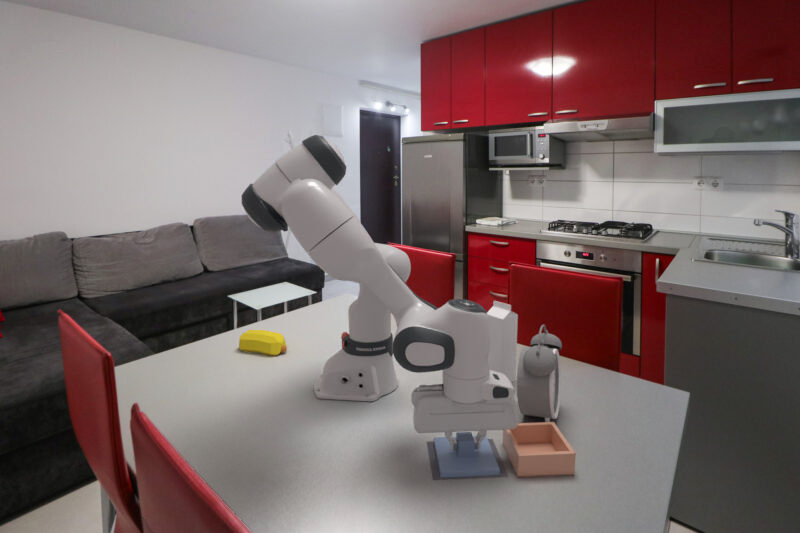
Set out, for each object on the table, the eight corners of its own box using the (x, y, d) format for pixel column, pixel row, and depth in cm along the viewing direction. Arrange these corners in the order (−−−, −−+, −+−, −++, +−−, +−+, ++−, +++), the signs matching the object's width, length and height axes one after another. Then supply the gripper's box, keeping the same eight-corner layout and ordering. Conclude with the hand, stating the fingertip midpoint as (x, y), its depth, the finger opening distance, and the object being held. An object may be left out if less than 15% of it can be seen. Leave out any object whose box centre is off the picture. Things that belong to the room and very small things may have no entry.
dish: (517, 479, 83) (518, 455, 82) (502, 445, 93) (503, 424, 92) (574, 477, 83) (575, 453, 82) (552, 443, 94) (553, 421, 93)
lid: (440, 477, 83) (440, 455, 82) (433, 442, 94) (433, 422, 93) (499, 475, 83) (500, 452, 82) (485, 440, 94) (486, 420, 93)
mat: (433, 482, 82) (433, 479, 82) (426, 444, 94) (426, 441, 94) (508, 479, 83) (508, 476, 83) (492, 441, 95) (492, 438, 95)
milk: (501, 387, 118) (503, 307, 114) (483, 379, 123) (485, 302, 118) (515, 380, 122) (518, 303, 117) (498, 372, 127) (500, 298, 122)
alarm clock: (553, 439, 95) (558, 342, 90) (512, 430, 99) (515, 336, 94) (561, 403, 109) (566, 318, 105) (525, 396, 113) (529, 313, 109)
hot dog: (248, 344, 153) (232, 352, 146) (246, 325, 151) (230, 333, 144) (293, 350, 147) (279, 359, 139) (291, 330, 145) (277, 339, 138)
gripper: (412, 393, 82) (413, 460, 85) (523, 389, 83) (520, 456, 85) (410, 378, 88) (411, 441, 91) (513, 374, 89) (510, 436, 92)
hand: (464, 448), depth 88 cm, fingers closed on lid, 3 cm apart
